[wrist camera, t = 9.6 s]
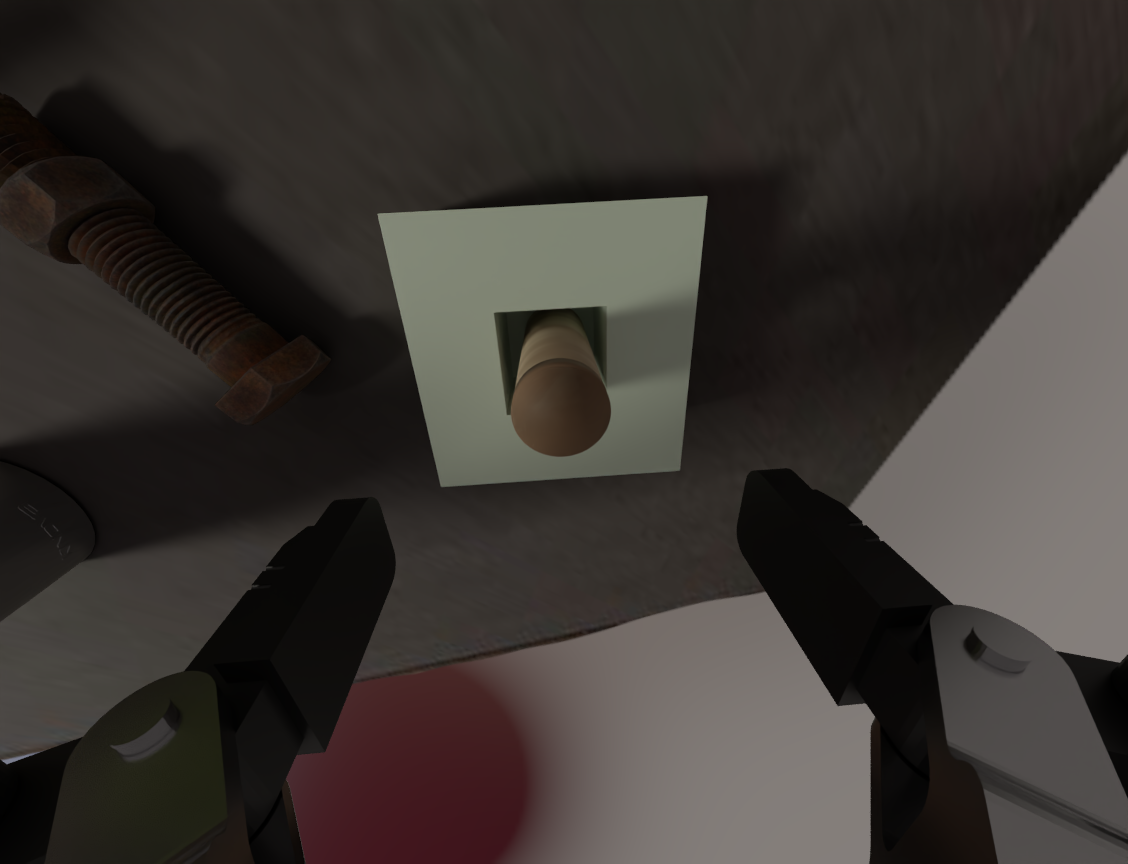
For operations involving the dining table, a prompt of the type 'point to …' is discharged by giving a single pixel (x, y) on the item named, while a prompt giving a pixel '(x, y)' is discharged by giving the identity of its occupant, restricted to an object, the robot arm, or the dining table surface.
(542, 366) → the peg
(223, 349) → the bolt
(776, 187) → the dining table surface
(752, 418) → the dining table surface
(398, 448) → the dining table surface
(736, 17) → the dining table surface
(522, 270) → the socket block
